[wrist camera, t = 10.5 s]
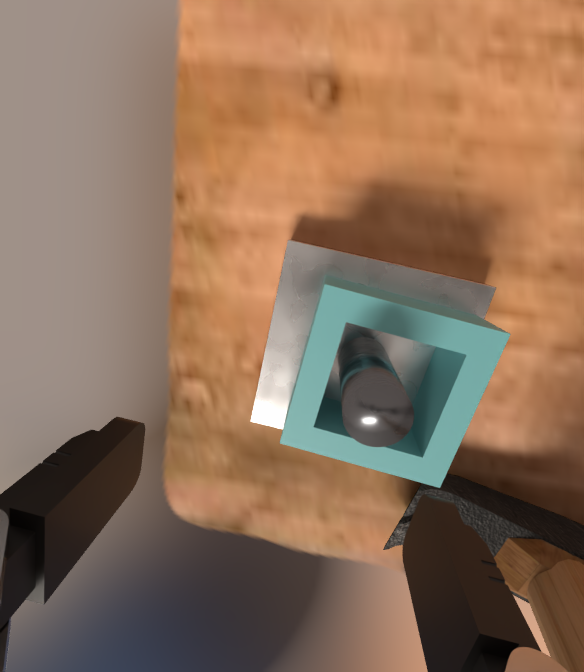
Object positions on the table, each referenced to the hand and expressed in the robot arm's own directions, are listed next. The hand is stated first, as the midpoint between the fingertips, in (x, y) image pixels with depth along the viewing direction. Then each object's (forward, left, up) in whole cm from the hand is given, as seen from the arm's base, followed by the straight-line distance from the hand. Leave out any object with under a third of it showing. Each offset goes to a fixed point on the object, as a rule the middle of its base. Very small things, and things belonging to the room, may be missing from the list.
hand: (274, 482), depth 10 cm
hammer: (-19, +10, -14) cm, 26 cm away
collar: (-5, 0, -13) cm, 13 cm away
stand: (-4, 0, -14) cm, 14 cm away
